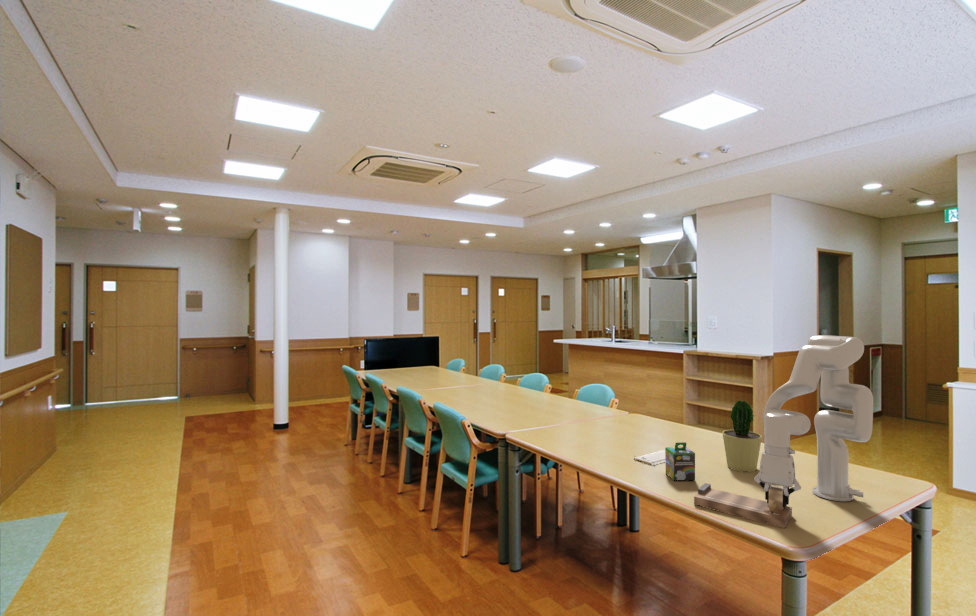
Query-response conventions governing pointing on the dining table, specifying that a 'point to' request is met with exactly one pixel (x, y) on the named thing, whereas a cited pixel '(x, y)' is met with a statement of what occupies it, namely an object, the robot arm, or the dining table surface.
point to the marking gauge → (776, 498)
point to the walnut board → (742, 506)
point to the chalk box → (680, 462)
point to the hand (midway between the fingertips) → (776, 503)
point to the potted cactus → (742, 439)
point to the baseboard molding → (652, 457)
